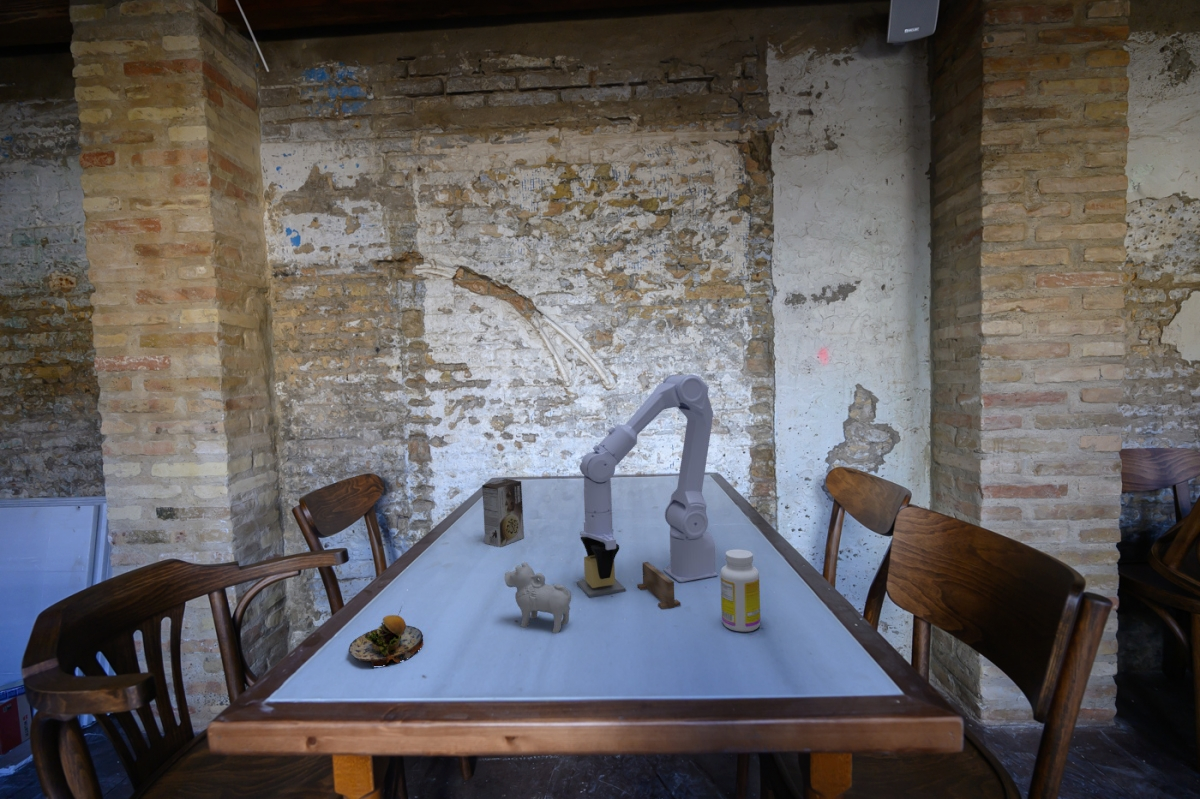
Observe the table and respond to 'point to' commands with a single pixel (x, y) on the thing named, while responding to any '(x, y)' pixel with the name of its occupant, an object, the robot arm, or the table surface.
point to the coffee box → (503, 512)
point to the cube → (596, 573)
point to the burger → (387, 642)
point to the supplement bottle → (740, 592)
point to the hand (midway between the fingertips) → (600, 573)
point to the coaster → (600, 589)
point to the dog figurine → (538, 596)
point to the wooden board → (658, 586)
